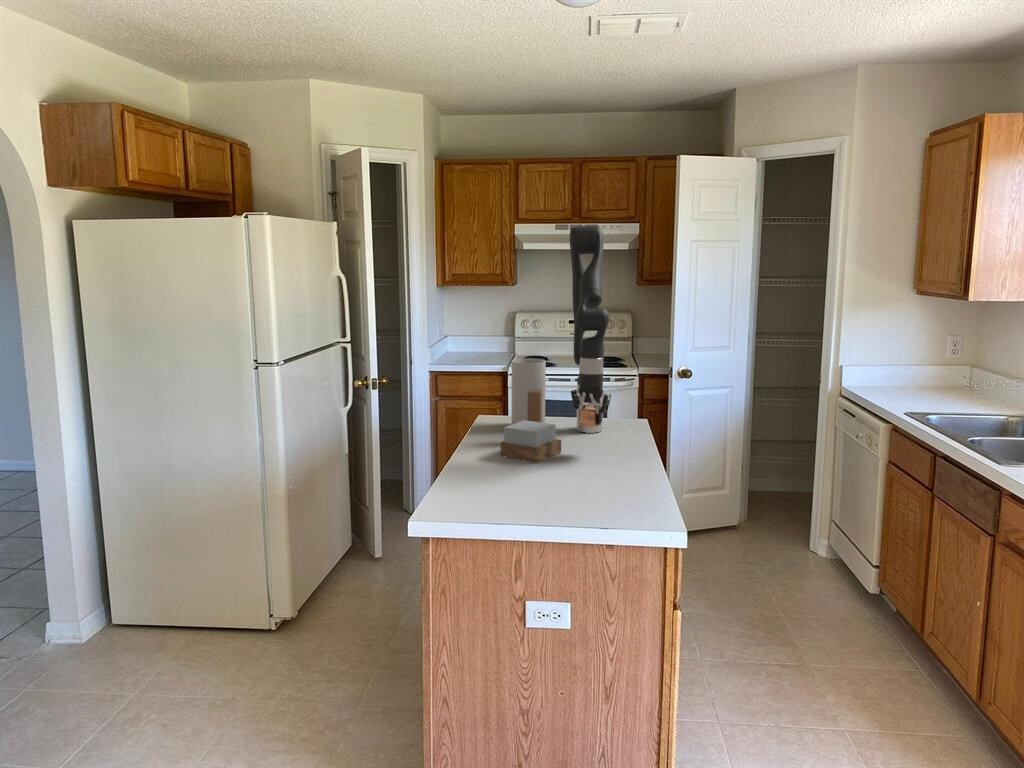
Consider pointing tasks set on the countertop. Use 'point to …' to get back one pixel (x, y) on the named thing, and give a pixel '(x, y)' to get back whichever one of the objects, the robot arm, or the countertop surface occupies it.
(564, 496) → the countertop surface
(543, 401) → the cylinder vase
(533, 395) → the wooden block
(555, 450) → the tower base block
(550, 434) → the tower top block
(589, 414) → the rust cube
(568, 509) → the countertop surface
